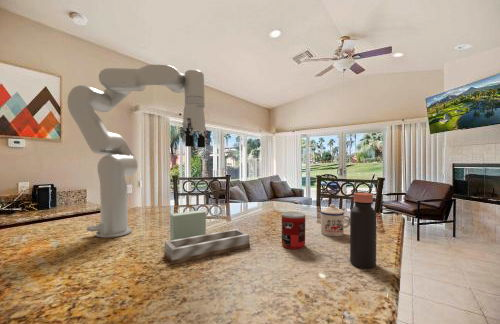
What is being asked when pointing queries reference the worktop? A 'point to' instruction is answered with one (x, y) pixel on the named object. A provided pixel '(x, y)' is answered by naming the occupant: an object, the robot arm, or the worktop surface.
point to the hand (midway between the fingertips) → (195, 146)
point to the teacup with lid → (333, 221)
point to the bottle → (363, 232)
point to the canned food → (293, 230)
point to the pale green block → (187, 224)
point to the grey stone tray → (205, 245)
